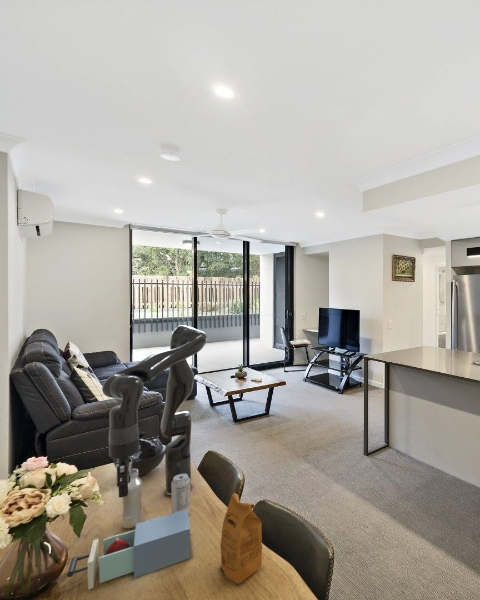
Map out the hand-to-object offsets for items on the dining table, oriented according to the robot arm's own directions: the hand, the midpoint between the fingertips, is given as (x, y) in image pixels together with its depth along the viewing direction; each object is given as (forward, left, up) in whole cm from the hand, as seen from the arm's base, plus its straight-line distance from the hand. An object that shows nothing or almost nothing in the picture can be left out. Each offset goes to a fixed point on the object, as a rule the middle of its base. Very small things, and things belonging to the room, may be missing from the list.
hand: (124, 489), depth 113 cm
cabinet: (+3, +10, -23) cm, 26 cm away
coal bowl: (-65, +2, -24) cm, 70 cm away
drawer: (+3, -4, -22) cm, 23 cm away
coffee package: (+23, +30, -24) cm, 44 cm away
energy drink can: (-18, +16, -24) cm, 34 cm away
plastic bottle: (-21, +1, -24) cm, 32 cm away
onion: (+2, -2, -22) cm, 22 cm away
